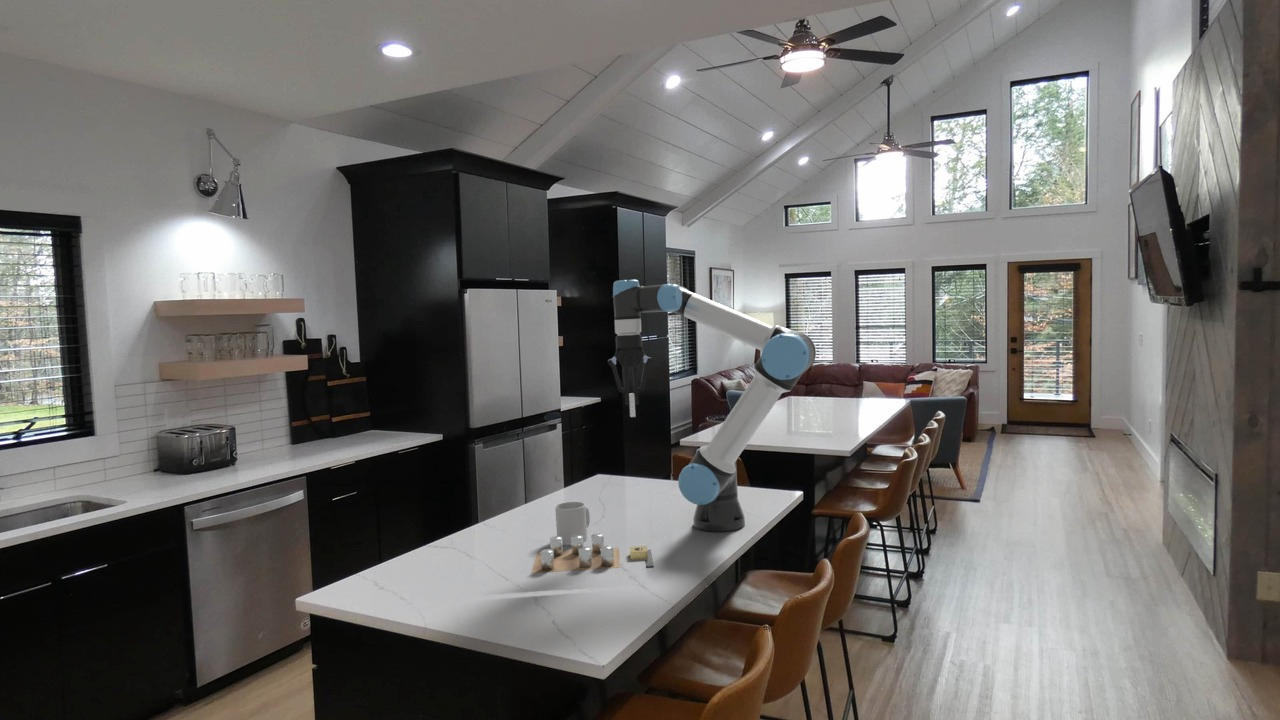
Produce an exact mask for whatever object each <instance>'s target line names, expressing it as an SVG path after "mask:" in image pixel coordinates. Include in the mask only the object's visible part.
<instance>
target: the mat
mask: <svg viewBox="0 0 1280 720" xmlns="http://www.w3.org/2000/svg"><path fill="white" fill-rule="evenodd" d="M647 551H648V561H645V560H644V562H645V568H654V566H655V565H654V561H653V559H654V558H653V554H652V550H651V549H647Z"/></svg>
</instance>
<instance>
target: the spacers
mask: <svg viewBox="0 0 1280 720" xmlns="http://www.w3.org/2000/svg"><path fill="white" fill-rule="evenodd" d="M549 544H550V548H547V549H545V548H544V549H542V550H540V553H541V567H542V570H543V571H550V570H553V569H554V556H561V555H563V551H564V548H563V546H564V545H563V544H562V537H561V536H557V535H554V536H551V537H550V538H549ZM570 546H571V549H570V550H571V551H572V554H573V555H579V566H580V568H590V567H592V553H594V554H600V553H601V566H603V567H611V566H613V565H614V554H613V548H614V546H613V545H608V544H606V545H605V538H604V534H603V533H593V534H591V546H584V543H583V536H582V535H573V536H571V545H570ZM591 549H592V553H591Z"/></svg>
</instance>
